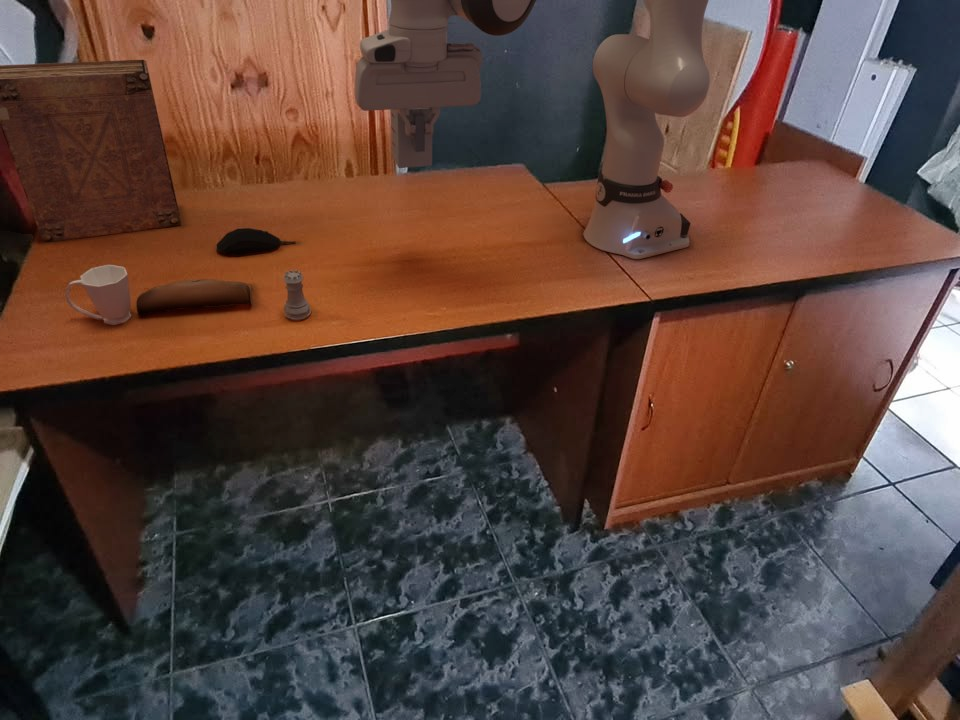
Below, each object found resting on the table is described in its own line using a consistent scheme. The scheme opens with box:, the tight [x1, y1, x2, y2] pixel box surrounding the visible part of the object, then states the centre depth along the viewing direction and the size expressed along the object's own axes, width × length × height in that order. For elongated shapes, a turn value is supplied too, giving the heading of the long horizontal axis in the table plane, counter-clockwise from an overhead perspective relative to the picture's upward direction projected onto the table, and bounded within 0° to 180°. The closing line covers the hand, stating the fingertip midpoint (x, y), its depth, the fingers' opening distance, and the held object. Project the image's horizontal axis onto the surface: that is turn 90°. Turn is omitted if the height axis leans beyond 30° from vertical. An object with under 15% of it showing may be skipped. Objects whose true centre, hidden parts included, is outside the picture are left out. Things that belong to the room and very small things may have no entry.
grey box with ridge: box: [389, 108, 433, 169], centre depth 118 cm, size 10×6×9 cm
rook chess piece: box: [282, 269, 312, 321], centre depth 115 cm, size 4×4×8 cm
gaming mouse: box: [216, 227, 297, 257], centre depth 134 cm, size 6×15×4 cm, turn 109°
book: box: [0, 59, 182, 243], centre depth 131 cm, size 25×9×30 cm, turn 113°
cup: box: [65, 264, 132, 326], centre depth 111 cm, size 7×10×8 cm
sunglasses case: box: [136, 278, 253, 316], centre depth 117 cm, size 18×7×7 cm
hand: (419, 133), depth 114 cm, fingers closed on grey box with ridge
